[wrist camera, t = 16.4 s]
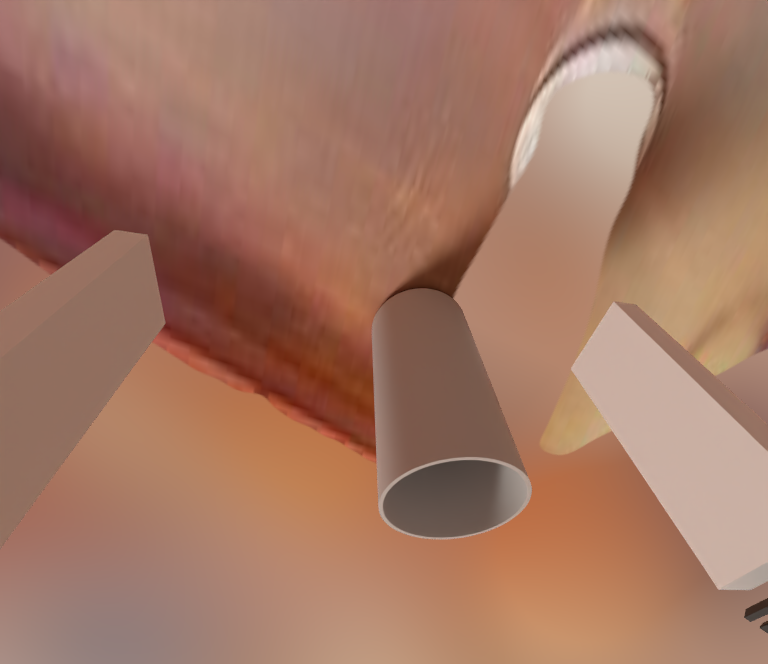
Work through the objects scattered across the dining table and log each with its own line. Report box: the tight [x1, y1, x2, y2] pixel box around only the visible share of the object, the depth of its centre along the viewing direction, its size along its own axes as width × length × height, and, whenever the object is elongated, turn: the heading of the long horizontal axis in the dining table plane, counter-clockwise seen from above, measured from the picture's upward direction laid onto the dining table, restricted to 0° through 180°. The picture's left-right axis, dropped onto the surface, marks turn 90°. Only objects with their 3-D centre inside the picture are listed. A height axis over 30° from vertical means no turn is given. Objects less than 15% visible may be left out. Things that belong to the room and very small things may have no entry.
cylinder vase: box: [372, 288, 532, 539], centre depth 41 cm, size 12×12×25 cm
